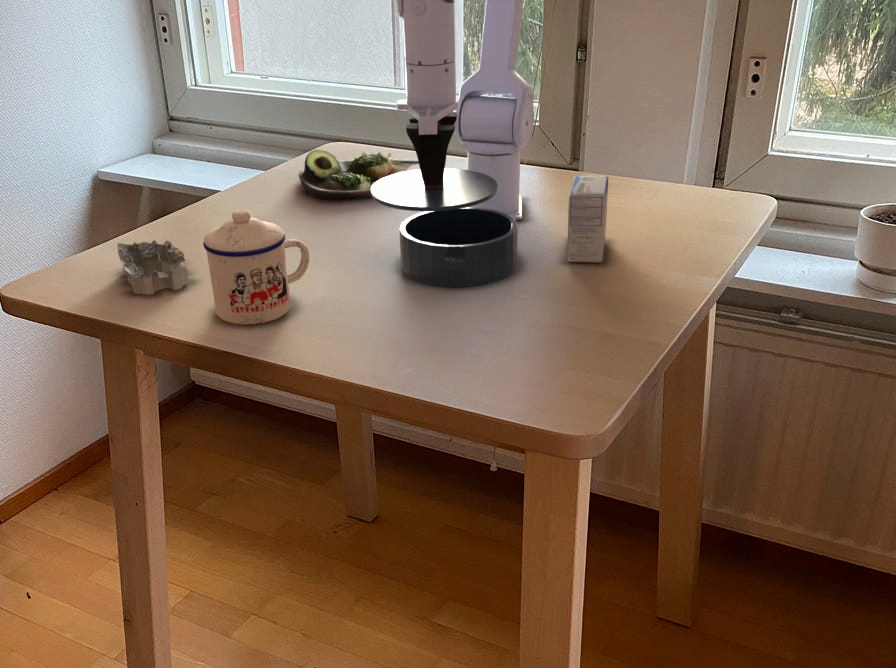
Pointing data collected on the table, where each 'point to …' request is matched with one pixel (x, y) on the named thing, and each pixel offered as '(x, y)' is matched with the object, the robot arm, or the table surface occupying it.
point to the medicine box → (587, 219)
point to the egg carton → (153, 266)
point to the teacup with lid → (251, 269)
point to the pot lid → (434, 190)
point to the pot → (458, 247)
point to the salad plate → (347, 174)
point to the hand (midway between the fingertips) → (433, 180)
